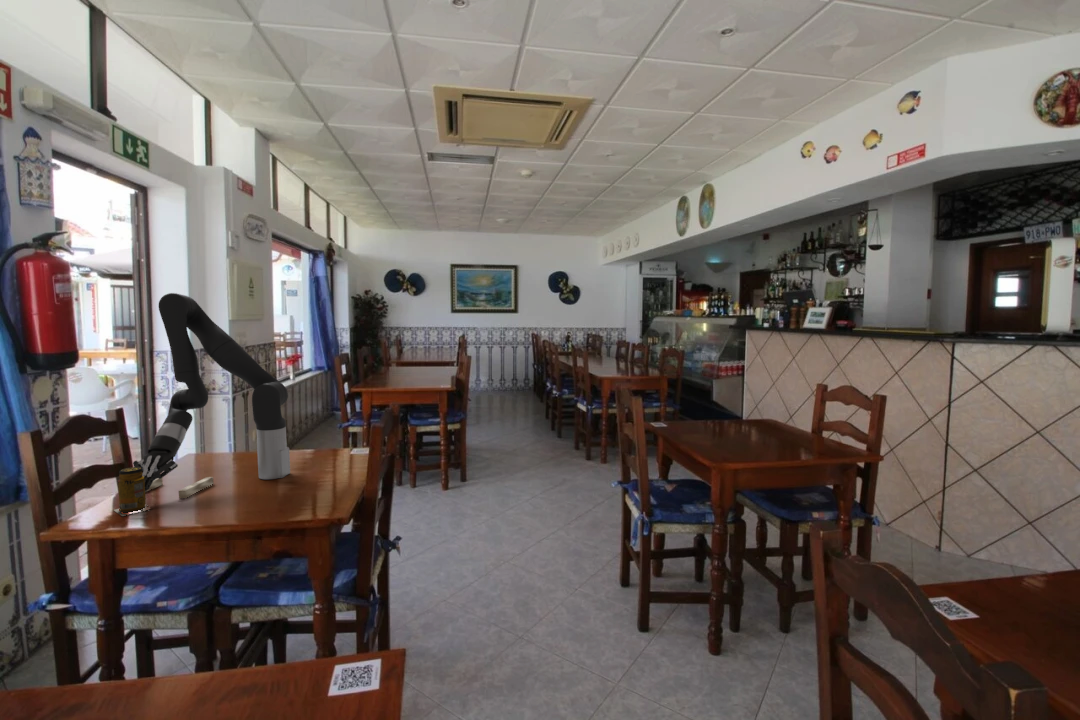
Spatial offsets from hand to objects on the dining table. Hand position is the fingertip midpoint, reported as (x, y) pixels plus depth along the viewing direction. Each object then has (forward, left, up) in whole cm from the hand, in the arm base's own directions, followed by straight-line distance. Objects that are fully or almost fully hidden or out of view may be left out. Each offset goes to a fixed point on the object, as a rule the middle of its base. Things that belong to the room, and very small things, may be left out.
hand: (141, 490), depth 153 cm
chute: (0, -12, -4) cm, 13 cm away
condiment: (-1, +4, -5) cm, 6 cm away
